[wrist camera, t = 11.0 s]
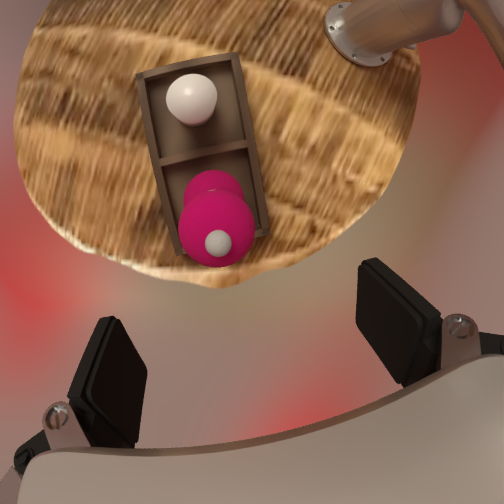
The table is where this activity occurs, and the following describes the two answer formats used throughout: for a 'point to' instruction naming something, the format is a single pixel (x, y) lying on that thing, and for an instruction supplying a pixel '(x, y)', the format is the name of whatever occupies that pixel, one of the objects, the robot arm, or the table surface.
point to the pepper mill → (215, 220)
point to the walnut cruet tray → (201, 138)
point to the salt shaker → (192, 99)
